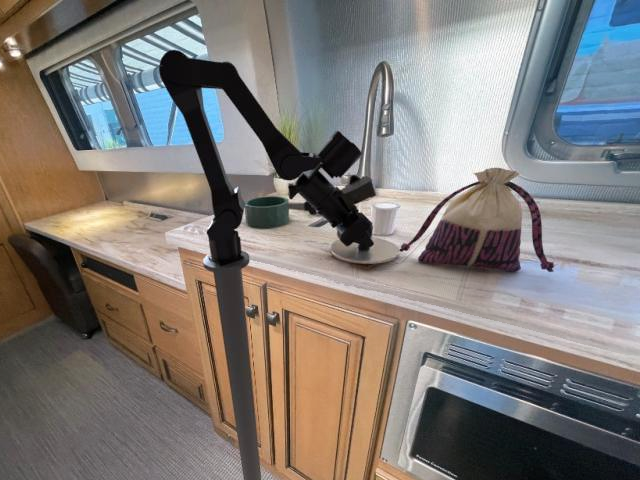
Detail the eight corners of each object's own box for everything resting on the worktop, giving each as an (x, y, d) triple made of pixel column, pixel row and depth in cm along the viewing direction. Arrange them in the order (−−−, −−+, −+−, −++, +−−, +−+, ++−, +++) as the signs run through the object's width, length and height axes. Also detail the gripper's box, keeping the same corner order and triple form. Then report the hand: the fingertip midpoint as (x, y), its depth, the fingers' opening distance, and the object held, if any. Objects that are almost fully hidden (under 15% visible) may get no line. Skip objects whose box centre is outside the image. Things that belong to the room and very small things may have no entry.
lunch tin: (263, 231, 91) (262, 210, 88) (238, 222, 102) (236, 202, 98) (297, 220, 97) (297, 200, 94) (270, 213, 107) (270, 194, 104)
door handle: (276, 205, 106) (319, 206, 97) (304, 192, 119) (344, 192, 110) (277, 215, 108) (319, 217, 98) (304, 201, 121) (344, 202, 111)
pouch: (396, 267, 65) (414, 170, 55) (398, 252, 71) (415, 162, 61) (553, 284, 54) (610, 168, 44) (540, 265, 60) (588, 159, 50)
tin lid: (318, 258, 69) (319, 231, 66) (344, 237, 79) (346, 213, 76) (386, 272, 61) (391, 242, 58) (406, 247, 70) (412, 220, 67)
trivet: (366, 269, 65) (366, 267, 65) (331, 256, 72) (331, 254, 72) (394, 256, 69) (394, 254, 69) (358, 245, 76) (359, 243, 76)
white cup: (394, 227, 85) (399, 201, 81) (396, 236, 79) (401, 209, 76) (368, 227, 87) (371, 201, 83) (368, 235, 81) (371, 208, 78)
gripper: (367, 171, 53) (420, 230, 57) (342, 157, 69) (386, 204, 73) (318, 220, 57) (371, 270, 62) (306, 196, 73) (349, 238, 78)
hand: (370, 242), depth 69 cm, fingers closed on tin lid, 3 cm apart
